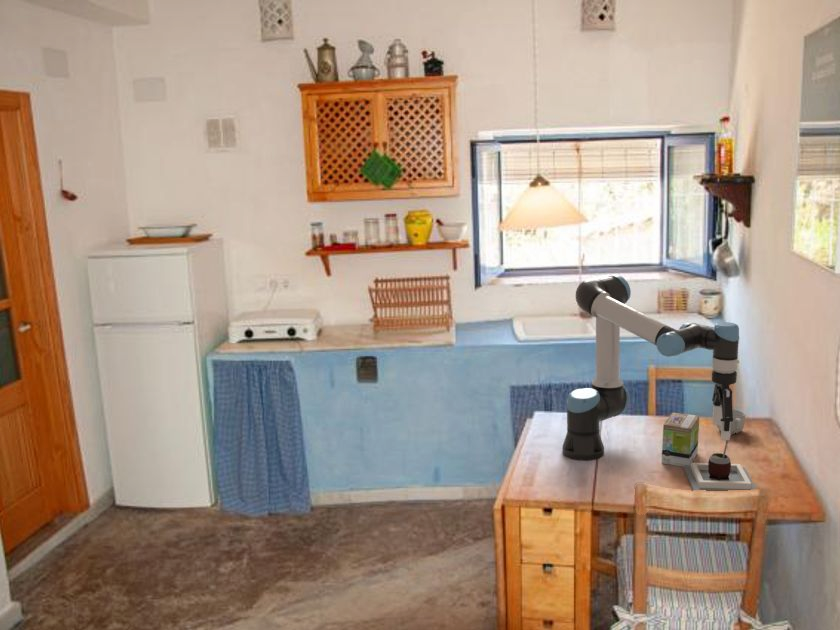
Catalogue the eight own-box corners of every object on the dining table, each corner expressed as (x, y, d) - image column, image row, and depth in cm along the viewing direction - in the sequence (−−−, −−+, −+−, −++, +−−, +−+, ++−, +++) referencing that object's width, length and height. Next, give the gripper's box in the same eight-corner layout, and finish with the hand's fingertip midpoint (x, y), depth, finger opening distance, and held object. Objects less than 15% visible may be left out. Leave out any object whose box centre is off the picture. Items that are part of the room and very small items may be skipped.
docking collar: (693, 493, 254) (694, 484, 254) (683, 468, 274) (684, 460, 273) (759, 495, 251) (759, 486, 250) (744, 469, 270) (744, 461, 270)
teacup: (712, 426, 312) (713, 407, 310) (740, 426, 310) (741, 407, 309) (720, 439, 299) (721, 419, 297) (750, 439, 297) (751, 419, 295)
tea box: (690, 468, 274) (691, 428, 270) (660, 463, 278) (661, 424, 275) (698, 453, 286) (699, 414, 283) (670, 449, 291) (671, 411, 288)
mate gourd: (708, 481, 260) (709, 439, 257) (707, 472, 267) (708, 430, 264) (732, 483, 258) (734, 440, 254) (730, 474, 265) (732, 432, 262)
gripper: (745, 382, 242) (741, 446, 246) (728, 359, 266) (724, 418, 270) (720, 381, 243) (716, 446, 248) (705, 359, 267) (702, 418, 272)
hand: (720, 431), depth 259 cm, fingers open, 13 cm apart
